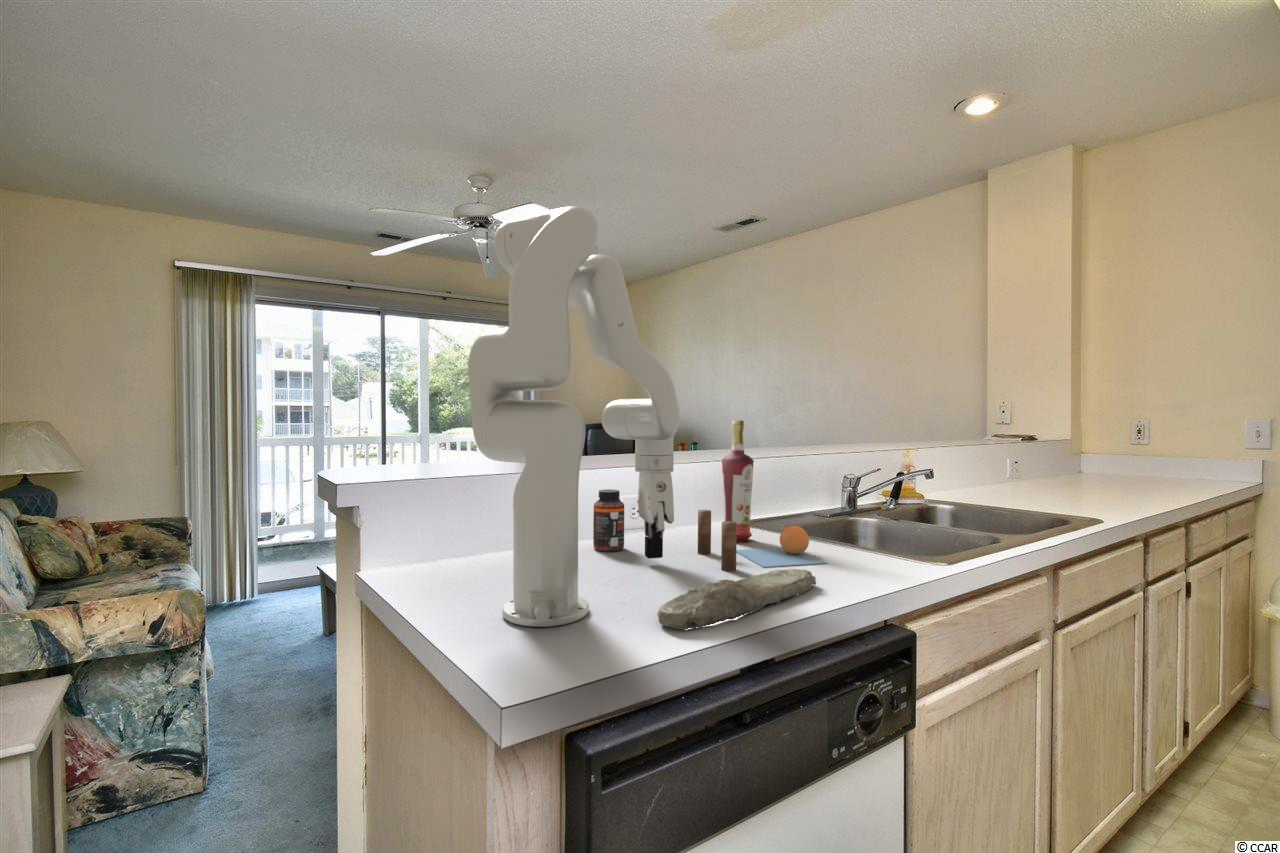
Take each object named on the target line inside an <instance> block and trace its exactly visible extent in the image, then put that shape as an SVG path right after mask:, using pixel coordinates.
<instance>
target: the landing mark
mask: <svg viewBox="0 0 1280 853" xmlns="http://www.w3.org/2000/svg"><path fill="white" fill-rule="evenodd" d="M736 554H739V555H740V556H742V557H744V558H745V559H747V560H750V561H751V562H752V563H754V564H756V565H758V566H760V567H762V568H777V567H780V568H781V567H794V566H795V567H796V566H809V565H810V566H812V565H824V564H825V565H826V564H827V565H828V564H829V562H828V561H826V560H823V559H821V558H818V557H817V556H814V555H812V554H810V553H808V552H806V551H804V552H803V553H801V554H797V555H795V554H789V553H787V552H786V551H785V550H784V549H783V548H782V547H780V546H779V547H766V548H764V547H763V548H748V549H746V548H745V549H736Z"/></svg>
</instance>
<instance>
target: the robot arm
mask: <svg viewBox="0 0 1280 853" xmlns="http://www.w3.org/2000/svg"><path fill="white" fill-rule="evenodd" d="M598 238H599V225H598V220H597V219H596V217H595V215H594V214H593V212H592V211H591V210H589V209H588V208H585V207H582V206H574V205H572V206H565V207H564V206H563V207H559V208H553V209H548V210H544V211H540V212H537V213H533V214H528V215H524V216H518V217H515V218H511V219H508V220H507V221H505V222H503V223H502V224H500V225H499V226H498V228H497V230H496V231H495V233H494V237H493V248H494V253H495V256H496V258H497V260H498V262H499V264H500V266H502V268H503V270H505V271H506V272H507V274H509V275H510V276H511V277H510V282H509V286H508V327H503V328H502V327H501V328H494V329H490V330H487V331H484V332H483V333H481V334H480V335H479V336H478V337H477V338H476V339H475V341H474V342H473V344H472V347H471V348H470V353H469V355H468V362H467V371H468V374H467V375H468V387H469V388H468V389H469V399H470V401H469V402H470V412H471V413H470V414H471V422H472V432H473V438H474V441H475V444H476V446H477V448H478V450H479V451H480V453H481V454H482V455H483V456H484V457H486V458H488V459H489V460H492V461H497V462H502V463H503V462H504V463H515V464H525V465H524V468H523V470H522V471H521V473H520V476H519V478H518V479H517V481H516V484H515V486H514V491H513V496H512V497H513V498H512V499H513V500H512V504H513V505H512V509H513V519H512V520H513V522H512V523H513V527H512V532H513V538H512V539H513V540H512V543H513V546H512V550H513V552H512V554H513V555H512V556H513V559H512V560H513V561H512V562H513V563H512V564H513V565H512V566H513V568H512V571H513V572H512V573H513V574H512V579H513V580H512V583H513V585H512V587H513V591H512V592H513V593H512V595H513V596H512V597H513V598H512V599H510V600H508V601H507V602H505V603H504V604H503V606H502V617H503V618H504V619H505V620H506V621H508V622H509V623H511V624H515V625H519V626H523V627H535V628H537V627H538V628H541V627H542V628H543V627H548V628H549V627H556V626H563V625H568V624H572V623H574V622H577V621H578V620H581V619H583V618H584V617H585V616H586V615H588V612H589V602H588V601H587V599H585V598H584V597H582V596H580V595H579V485H580V484H579V483H580V482H579V481H580V470H581V462H582V457H583V456H582V455H583V452H584V447H585V443H586V442H585V441H586V422H585V419H584V417H583V415H582V414H581V412H580V411H579V409H577V407H575V406H573V405H572V404H570V403H569V402H566V401H562V400H556V399H524V400H523V399H520V392H534V391H549V390H555V389H558V388H561V387H562V386H563V385H565V383H567V381H568V380H569V378H570V375H571V368H572V356H571V355H572V353H571V352H572V351H571V338H570V337H571V335H570V318H569V315H570V314H569V310H572V309H579V311H580V314H581V317H582V322H583V325H584V328H585V329H584V330H585V332H586V336H587V339H588V343H589V347H590V351H591V353H592V355H593V356H594V357H595V358H597V359H599V360H601V361H603V362H605V363H607V364H609V365H611V366H613V367H616V368H617V369H620V370H622V371H624V372H626V373H628V374H630V376H633V378H635V379H636V380H637V381H639V383H640V384H641V385H642V386H643V387H644V388H645V391H646V393H647V394H648V396H649V397H647V398H619V399H615V400H612V401H610V402H609V403H608V404H607V405H605V407H604V409H603V411H602V414H601V426H602V428H603V429H604V431H605V433H607V434H608V435H609V436H610V437H612V438H614V439H618V440H631V441H632V440H634V441H635V442H634V443H635V444H634V446H635V447H634V448H635V449H634V455H635V456H634V472H636V473H639V475H638V488H637V490H638V491H637V492H638V493H637V494H638V495H637V496H638V497H637V500H638V501H637V504H638V505H637V509H638V516H639V518H641V519H642V520H643V522H644V557H645V558H647V559H662V558H663V556H664V555H663V552H664V551H663V550H664V548H663V547H664V544H663V543H664V540H663V539H664V538H663V537H664V532H665V529H666V528H665V522H666V523H667V524H670V525H671V524H673V523H674V522H675V510H674V507H675V506H674V489H673V488H674V487H673V478H672V473H673V472H674V444H675V443H674V438H675V437H674V436H675V434H676V433H677V432H678V430H679V426H680V409H679V404H678V398H677V395H676V394H677V393H676V388H675V385H674V382H673V379H672V377H671V375H670V373H669V372H668V370H667V369H666V368H665V365H663V363H661V361H660V360H659V359H658V357H656V355H655V354H654V353H653V352H652V351H650V349H649V348H647V347H646V346H645V344H643V343H642V342H641V341H640V339H639V336H638V330H637V326H636V323H635V319H634V313H633V310H632V306H631V302H630V297H629V293H628V288H627V285H626V281H625V276H624V272H623V270H622V267H621V265H620V263H619V262H618V260H617V259H616V258H615V257H613V256H610V255H607V254H602V253H601V254H593V253H594V251H595V249H596V246H597V244H598Z"/></svg>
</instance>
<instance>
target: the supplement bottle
mask: <svg viewBox="0 0 1280 853" xmlns="http://www.w3.org/2000/svg"><path fill="white" fill-rule="evenodd" d="M620 493H621V491H620V490H618V489H610V488H609V489H599V490H598V498H599V499H598V500H596V501H595V502H594V503H593V519H592V520H593V521H592V522H593V524H592V526H593V527H592V528H593V530H592V531H593V534H592V535H593V538H592V539H593V549H594V550H597V551H599V552H607V553H608V552H610V553H611V552H618V551H621V550H623V549H624V547H625V504H624V502H623V501H621V499H620V497H621V496H620Z"/></svg>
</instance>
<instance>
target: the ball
mask: <svg viewBox="0 0 1280 853" xmlns="http://www.w3.org/2000/svg"><path fill="white" fill-rule="evenodd" d="M809 538H810V537H809V535H808V533H807V531H805V529H803V528H802V527H801V526H798V525H790V526H787V527H785V528H784V529H783V530H782V531H781V533H780V535H779V544H780V546H781V547H782V548H783V549H784V550H785V551H786V552H787V553H789V554H795V555H797V554H801V553H803V552H806V550H807V549H808V547H809V543H810V539H809Z"/></svg>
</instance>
